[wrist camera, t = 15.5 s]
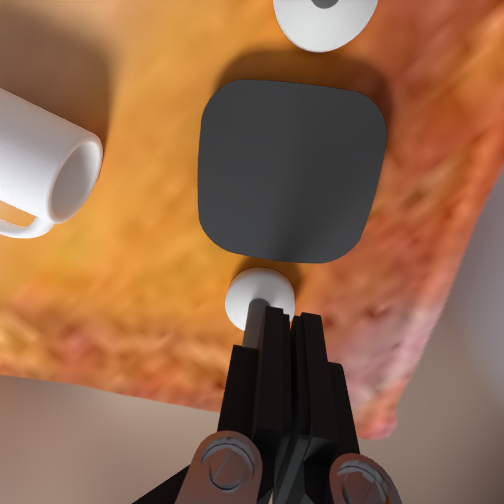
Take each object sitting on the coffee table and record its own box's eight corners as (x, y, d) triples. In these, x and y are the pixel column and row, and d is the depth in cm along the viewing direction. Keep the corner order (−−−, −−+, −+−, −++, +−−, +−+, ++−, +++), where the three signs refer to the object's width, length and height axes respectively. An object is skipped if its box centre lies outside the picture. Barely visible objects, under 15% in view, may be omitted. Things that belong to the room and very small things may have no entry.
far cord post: (232, 261, 34) (175, 456, 17) (300, 274, 34) (316, 482, 17) (224, 316, 38) (168, 528, 20) (286, 327, 38) (287, 551, 20)
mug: (-2, 71, 28) (-98, 69, 21) (112, 127, 30) (57, 143, 22) (-14, 196, 34) (-94, 227, 27) (83, 239, 35) (31, 279, 28)
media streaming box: (207, 73, 27) (199, 72, 25) (391, 93, 27) (403, 94, 24) (202, 238, 34) (195, 251, 31) (349, 257, 33) (354, 272, 31)
